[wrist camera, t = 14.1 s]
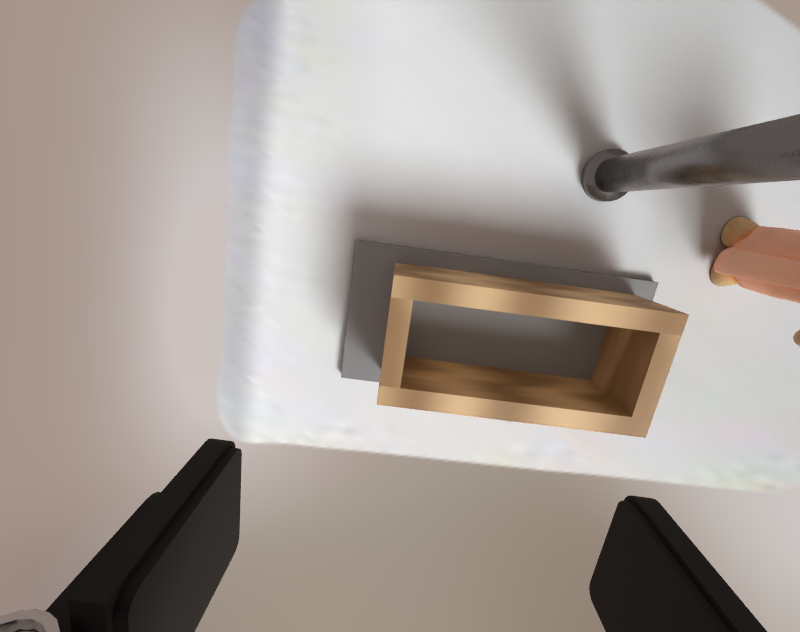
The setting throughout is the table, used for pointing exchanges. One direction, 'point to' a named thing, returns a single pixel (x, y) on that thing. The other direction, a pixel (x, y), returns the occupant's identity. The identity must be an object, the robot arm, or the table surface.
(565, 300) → the open wooden frame
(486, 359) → the rubber mat
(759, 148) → the post stand
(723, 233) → the grandmother figurine
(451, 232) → the table surface
